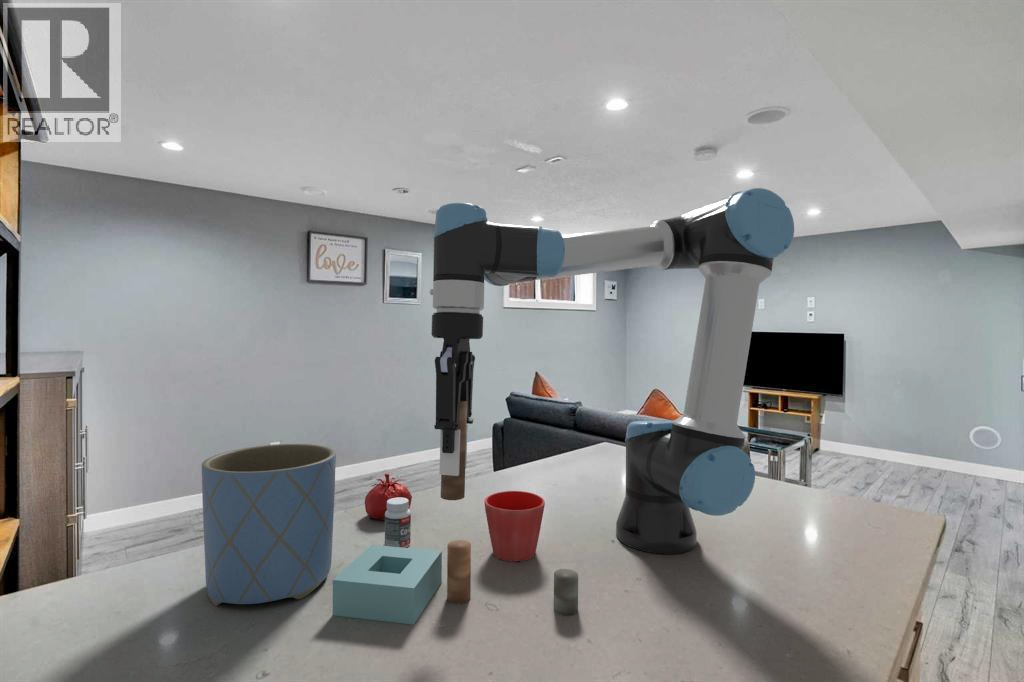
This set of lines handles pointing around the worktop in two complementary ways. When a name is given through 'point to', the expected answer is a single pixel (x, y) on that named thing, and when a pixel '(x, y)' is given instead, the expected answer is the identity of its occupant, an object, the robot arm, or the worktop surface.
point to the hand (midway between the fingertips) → (453, 470)
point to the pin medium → (458, 571)
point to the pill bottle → (397, 523)
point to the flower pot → (514, 524)
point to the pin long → (456, 484)
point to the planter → (267, 522)
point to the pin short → (566, 592)
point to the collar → (388, 584)
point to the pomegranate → (384, 497)
